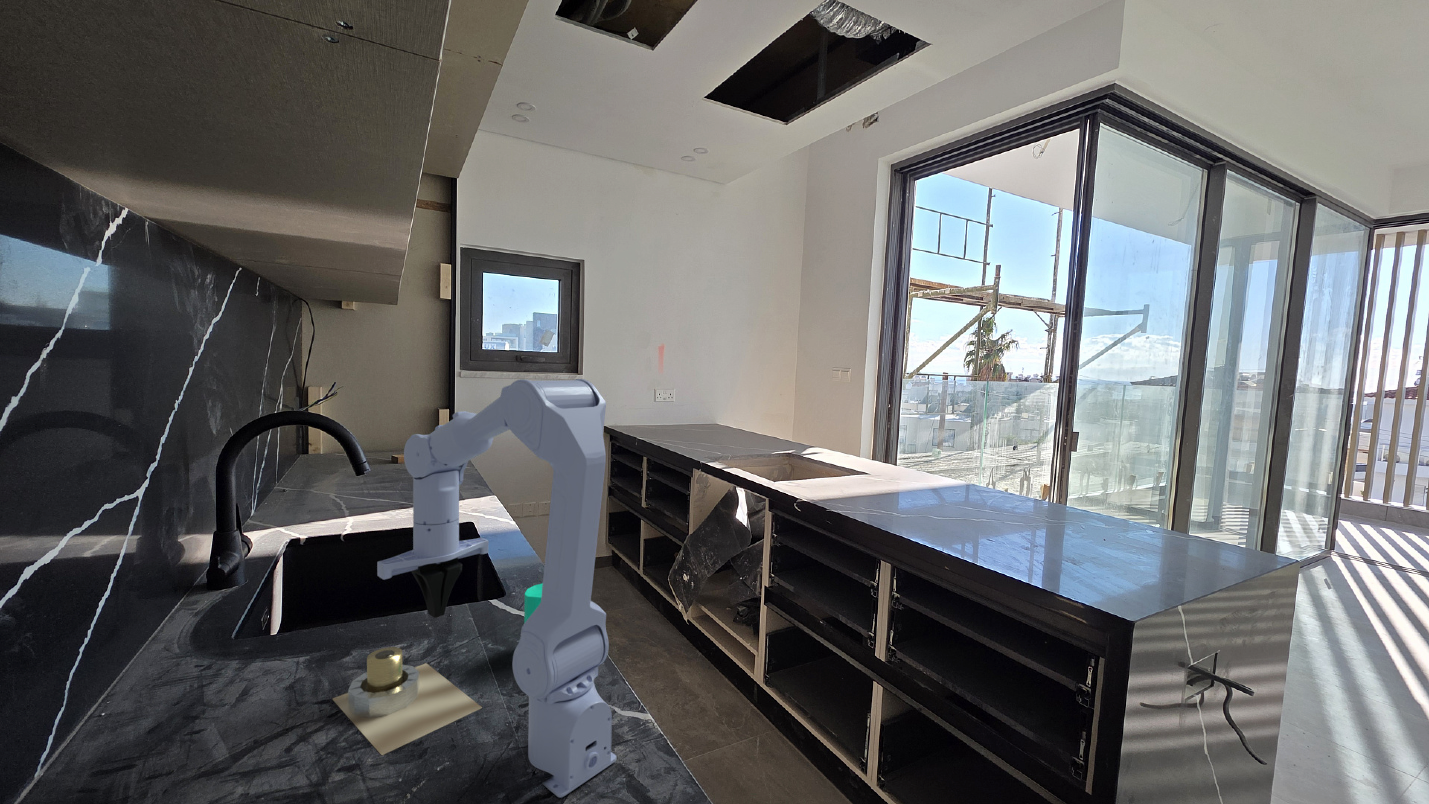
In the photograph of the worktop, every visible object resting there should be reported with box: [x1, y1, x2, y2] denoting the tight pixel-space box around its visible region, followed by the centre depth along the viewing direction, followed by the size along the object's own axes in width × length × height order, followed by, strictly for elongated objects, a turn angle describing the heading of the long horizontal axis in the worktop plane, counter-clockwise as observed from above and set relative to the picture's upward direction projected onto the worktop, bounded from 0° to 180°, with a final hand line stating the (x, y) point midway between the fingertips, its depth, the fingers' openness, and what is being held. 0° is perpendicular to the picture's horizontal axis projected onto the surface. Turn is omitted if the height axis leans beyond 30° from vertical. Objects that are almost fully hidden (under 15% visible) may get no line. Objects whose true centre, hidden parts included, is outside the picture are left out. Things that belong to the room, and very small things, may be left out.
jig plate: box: [332, 662, 483, 756], centre depth 74 cm, size 16×12×1 cm
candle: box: [523, 582, 543, 623], centre depth 88 cm, size 6×6×12 cm
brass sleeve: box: [366, 646, 403, 693], centre depth 74 cm, size 4×4×6 cm
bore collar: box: [347, 664, 419, 718], centre depth 74 cm, size 8×8×2 cm
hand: (436, 614), depth 80 cm, fingers closed
